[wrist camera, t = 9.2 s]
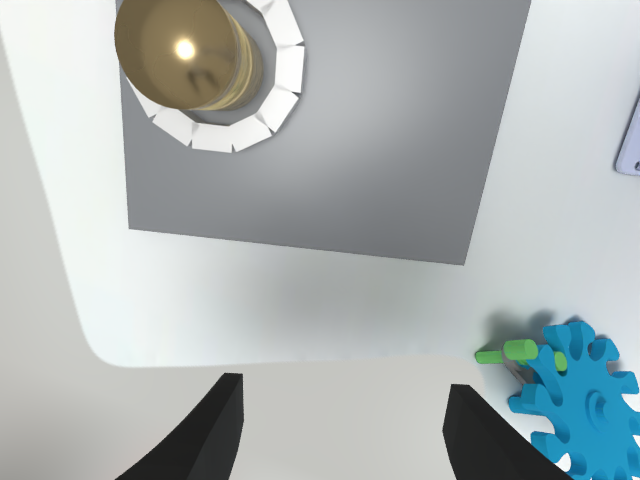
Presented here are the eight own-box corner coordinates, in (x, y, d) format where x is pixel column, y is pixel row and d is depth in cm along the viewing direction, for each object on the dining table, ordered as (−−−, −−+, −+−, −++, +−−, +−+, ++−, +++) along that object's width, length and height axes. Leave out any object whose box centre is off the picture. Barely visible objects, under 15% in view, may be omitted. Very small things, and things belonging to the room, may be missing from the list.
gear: (674, 399, 23) (653, 572, 18) (577, 394, 28) (539, 529, 23) (562, 271, 22) (507, 415, 17) (483, 289, 27) (421, 405, 22)
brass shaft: (263, 23, 17) (233, -21, 12) (263, 113, 19) (235, 112, 13) (178, 18, 17) (107, -28, 12) (184, 108, 19) (121, 106, 13)
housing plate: (525, -14, 18) (556, -34, 15) (458, 259, 22) (473, 276, 20) (123, -64, 17) (90, -93, 15) (137, 223, 22) (114, 237, 19)
